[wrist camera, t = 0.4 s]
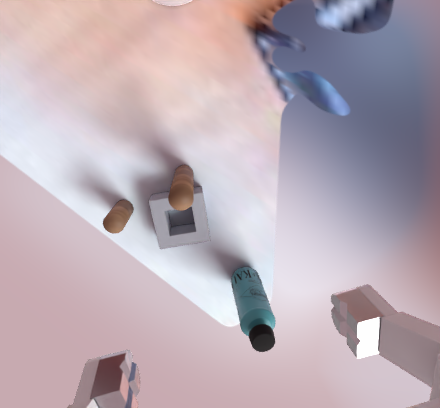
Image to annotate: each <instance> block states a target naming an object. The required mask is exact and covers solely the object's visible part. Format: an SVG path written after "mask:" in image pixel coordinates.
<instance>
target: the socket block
mask: <svg viewBox="0 0 440 408" xmlns="http://www.w3.org/2000/svg"><path fill="white" fill-rule="evenodd" d="M168 196H169V192H163V193H157V194H152V195H151V197H150V200H149V205H150V209H151V213H152V218H153V222H154V226H155V230H156V234H157V239H158V243H159V247H160V249H165V248H171V247H177V246H183V245H189V244H195V243H200V242H206V241H211V240H210V233H209V227H208V221H207V215H206V209H205V203H204V197H203V191H202V186H201V187H194V200H193V203H192V205H191V206H190V207H192V210H193V216H194V221H195V223H193V224H187V225H181V226H175V227H171V223H170V218H169V213H168V211H169V210H175V209H174V208H173V207H172V206H171V205H170V204H169V201H168Z"/></svg>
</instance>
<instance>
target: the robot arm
mask: <svg viewBox="0 0 440 408" xmlns="http://www.w3.org/2000/svg"><path fill="white" fill-rule="evenodd" d="M152 1H154V2H156V3H158V4H161V5H166V6H179V5H183V4H186V3H188V2H190V1H192V0H152ZM331 302H332V304H333V305H334V307H333V309H332V310H331V312H332V319H333V322H334V325H335V327H336V329H337V330H338V331H339V333H340V334H341V335H343V336H345V337H347V345H348V346H349V348H350V349H351V350H352V352H353V353H354V355H355V356H356V358H361V357H365V356H369V355H373V354H376V353H379V355H381V356H382V357H384V358H386V359H387V360H389V361H390V362H392V363H393V364H395V365H397V366H399V367H400V368H401V369H403V370H405V371H406V372H408V373H409V374H411V375H413V376H414V377H416V378H417V379H419V380H420V381H422V382H424V383H425V384H427V385H429V386H430V387H431V388H432V389H431V394H430V400H429V401H428V402H424V403H421V404H418V405H414V406H411V407H408V408H440V327H439V326H437V325H434V324H432V323H429V322H426V321H424V320H421V319H419V318H416V317H414V316H411V315H409V314H406V313H404V312H399V313H398V312H397V311H396V310H395V309H394V308H393V307H392V306H391V305H390V304H389V303H388V302H387V301H386V300H385V299H384V298H382V296H381V295H379V294H378V293H377V292H376V291H375V290H374V289H373V288H372V287H371V286H370V285H368V284H367V285H363V286H360V287H356V288H352V289H349V290H346V291H342V292H338V293H335V294H332V296H331ZM132 358H133V355H132V353H131V351H130V350H125V351H121V352H117V353H113V354H109V355H105V356H101V357H97V358H94V359H89V360H88V361H87V362H86V364H85V367H84V370H83V374H82V376H81V380H80V383H79V386H78V389H77V393H76V396H75V399H74V403H73V404H72V405H69V406H68V407H67V408H138V401H137V399H136V396H137V394H138V393H139V391H140V374H139V370H138V367H137V364H135V363H133V362H132Z"/></svg>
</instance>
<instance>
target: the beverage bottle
mask: <svg viewBox="0 0 440 408" xmlns="http://www.w3.org/2000/svg"><path fill="white" fill-rule="evenodd" d="M260 279H261V278H259V275H258V273H257V272H256V270H254V269H252V268H250V267H243V268H240V269H238V270H236V271H235V272H234V274H233V276H232V279H231V283H232V285H231V286H232V288H233V290H232V291H233V292H234V295H233V296H234V298H235V300H234V301H235V302H236V304H235V305H236V306H237V310H238V315H239V320H240V326H241V329H242V331H243V332H244V334H246V335H247V336H249V339H250V341H251V344H252V347H253V348H254V349H255V350H256V351H259V352H265V351H268V350H270V349H271V348H272V347H273V346H274V344H275V338H274V333H273V328H274V327H275V317H274V315H273V313H272V310H271V307H270V304H269V301H268V299H267V296H266V294H265V291H264V288H263V286H262V282H261V280H260Z"/></svg>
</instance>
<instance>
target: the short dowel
mask: <svg viewBox="0 0 440 408" xmlns="http://www.w3.org/2000/svg"><path fill="white" fill-rule="evenodd" d="M133 210H134V208H133V205H132V204H131V203H130V202H129V201H127V200H120V201H118V202H117V203H116V205H115V206H114V207H113V208H112V210H111V211H110V212H109V213H108V215H107V216H106V217H105V218H104V220H103V226H104V228H105V229H106V230H107V231H108V232H110V233H119V232H121V231H122V230H123V228H124V227H125V225H126V223H127V222H128V220H129V218H130V216H131V215H132V213H133Z"/></svg>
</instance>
